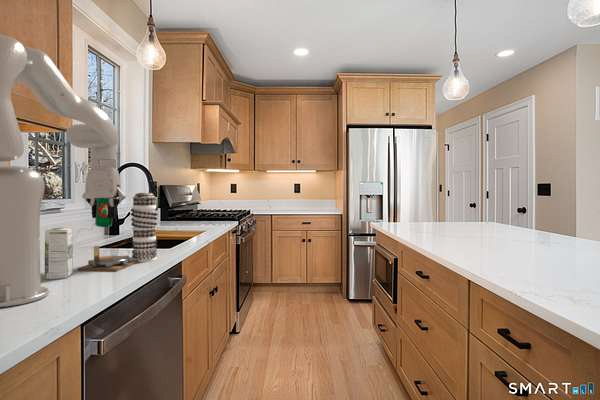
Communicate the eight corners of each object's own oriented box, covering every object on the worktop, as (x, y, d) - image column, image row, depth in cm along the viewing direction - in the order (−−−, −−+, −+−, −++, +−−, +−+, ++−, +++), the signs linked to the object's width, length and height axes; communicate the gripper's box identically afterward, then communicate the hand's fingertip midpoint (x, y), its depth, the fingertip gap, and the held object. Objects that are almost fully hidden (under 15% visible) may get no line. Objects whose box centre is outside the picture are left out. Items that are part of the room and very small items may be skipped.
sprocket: (87, 268, 105) (87, 249, 105) (89, 260, 116) (89, 243, 116) (134, 264, 112) (134, 246, 111) (131, 257, 123) (131, 240, 123)
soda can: (102, 224, 117) (104, 190, 117) (115, 226, 117) (117, 192, 116) (91, 226, 112) (93, 190, 112) (105, 227, 112) (107, 192, 111)
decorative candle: (139, 256, 129) (139, 192, 128) (162, 257, 129) (162, 193, 128) (125, 261, 120) (125, 193, 119) (150, 262, 119) (150, 193, 119)
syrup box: (50, 275, 101) (50, 227, 100) (73, 273, 103) (73, 227, 103) (44, 280, 95) (43, 230, 95) (68, 278, 98) (68, 229, 97)
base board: (116, 271, 106) (116, 268, 106) (77, 270, 107) (77, 268, 107) (138, 262, 119) (138, 260, 119) (103, 261, 120) (103, 259, 120)
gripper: (71, 164, 110) (72, 218, 111) (121, 164, 110) (122, 219, 110) (87, 165, 118) (87, 216, 119) (133, 166, 117) (134, 217, 118)
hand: (104, 217), depth 114 cm, fingers closed on soda can, 5 cm apart
